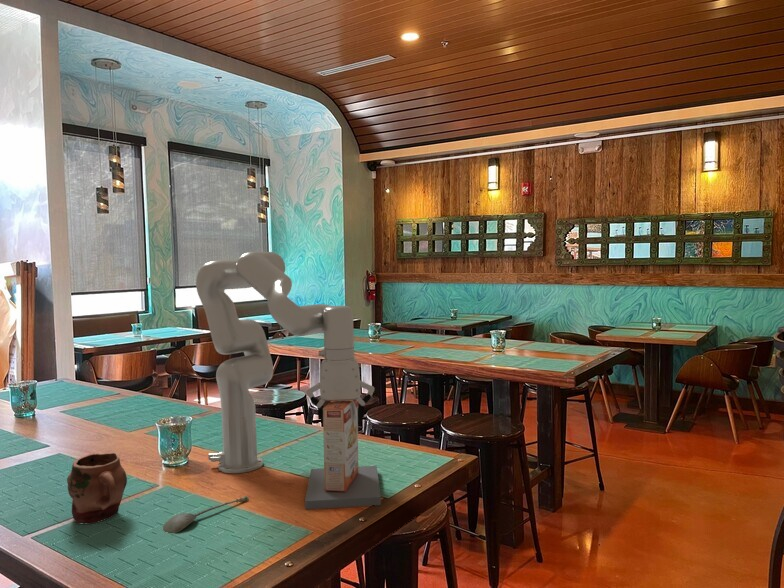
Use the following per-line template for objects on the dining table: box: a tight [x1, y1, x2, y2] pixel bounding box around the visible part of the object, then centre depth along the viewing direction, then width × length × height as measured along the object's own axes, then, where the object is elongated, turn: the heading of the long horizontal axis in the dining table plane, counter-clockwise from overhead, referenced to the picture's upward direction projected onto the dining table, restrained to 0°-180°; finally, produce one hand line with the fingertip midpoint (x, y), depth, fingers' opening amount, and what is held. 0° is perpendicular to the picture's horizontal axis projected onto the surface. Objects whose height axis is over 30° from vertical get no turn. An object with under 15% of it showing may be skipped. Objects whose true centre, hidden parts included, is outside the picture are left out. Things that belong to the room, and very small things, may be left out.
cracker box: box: [322, 400, 359, 492], centre depth 150 cm, size 14×6×21 cm, turn 170°
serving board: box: [304, 465, 382, 510], centre depth 151 cm, size 18×22×2 cm
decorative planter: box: [66, 452, 128, 524], centre depth 137 cm, size 20×12×14 cm, turn 51°
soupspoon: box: [162, 495, 249, 534], centre depth 137 cm, size 22×3×7 cm
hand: (341, 421), depth 150 cm, fingers open, 9 cm apart
